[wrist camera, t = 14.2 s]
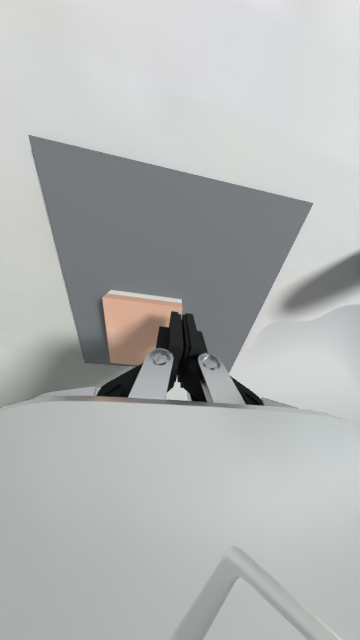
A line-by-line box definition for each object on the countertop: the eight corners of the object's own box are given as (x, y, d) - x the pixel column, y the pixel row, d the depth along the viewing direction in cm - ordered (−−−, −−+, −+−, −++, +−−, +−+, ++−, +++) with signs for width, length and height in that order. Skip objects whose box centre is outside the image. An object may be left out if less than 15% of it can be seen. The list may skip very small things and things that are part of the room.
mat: (227, 370, 21) (228, 374, 21) (87, 359, 19) (85, 362, 19) (307, 204, 11) (313, 203, 11) (36, 140, 9) (28, 134, 9)
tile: (171, 367, 17) (110, 362, 16) (171, 355, 18) (116, 350, 18) (182, 307, 13) (102, 297, 12) (181, 299, 15) (111, 289, 14)
